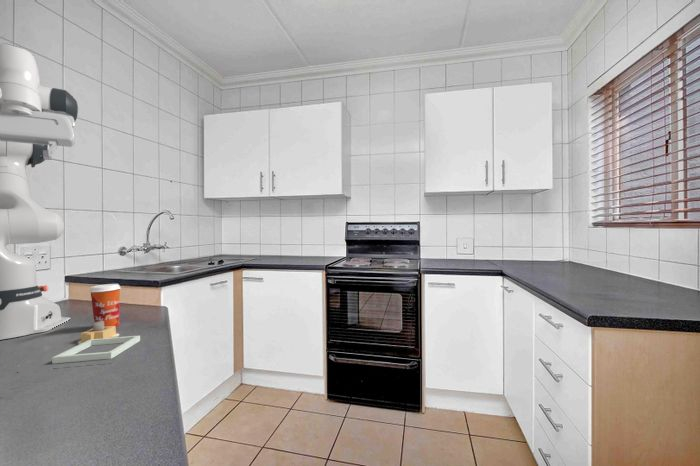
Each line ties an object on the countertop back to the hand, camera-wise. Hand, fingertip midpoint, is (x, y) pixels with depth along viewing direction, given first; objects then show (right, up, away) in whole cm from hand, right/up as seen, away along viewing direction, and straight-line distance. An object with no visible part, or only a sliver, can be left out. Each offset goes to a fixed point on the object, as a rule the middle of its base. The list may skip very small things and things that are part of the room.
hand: (19, 157), depth 74 cm
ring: (+9, -46, +12) cm, 49 cm away
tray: (+17, -47, +2) cm, 50 cm away
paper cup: (+2, -48, +24) cm, 54 cm away
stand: (+9, -47, +12) cm, 50 cm away
